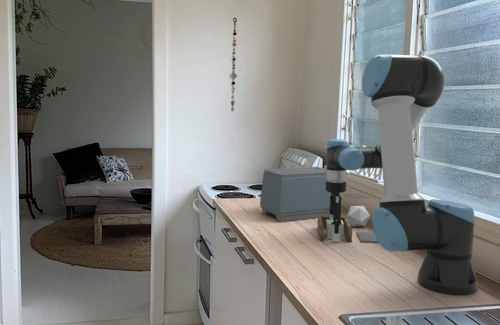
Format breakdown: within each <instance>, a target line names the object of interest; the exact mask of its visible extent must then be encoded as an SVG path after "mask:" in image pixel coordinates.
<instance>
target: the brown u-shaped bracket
mask: <svg viewBox="0 0 500 325" xmlns="http://www.w3.org/2000/svg"><path fill="white" fill-rule="evenodd" d="M326 220H330V216H318V218H317V231H318V232H317V233H318V237H319V238H318V239H319V241H320V242H324V238H325V237H324V235H325V231H324V230H326ZM341 220H342V221H343V223H344V234H345V237H346V240H347V241H348V243H353V242H352V241H353V227H352V226H351V224H350V222H349V221H348V219H347V216H341Z"/></svg>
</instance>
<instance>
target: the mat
mask: <svg viewBox="0 0 500 325" xmlns="http://www.w3.org/2000/svg"><path fill="white" fill-rule="evenodd" d="M356 235H357V237H358V239H359V241H360V243H364V244H365V243H367V244H369V243H370V244H371V243H372V244H380V243H379V242H378V240H377V238H376V236H375V233H374V231H373V232H372V231H371V232H369V231H368V232H367V231H356Z"/></svg>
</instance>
